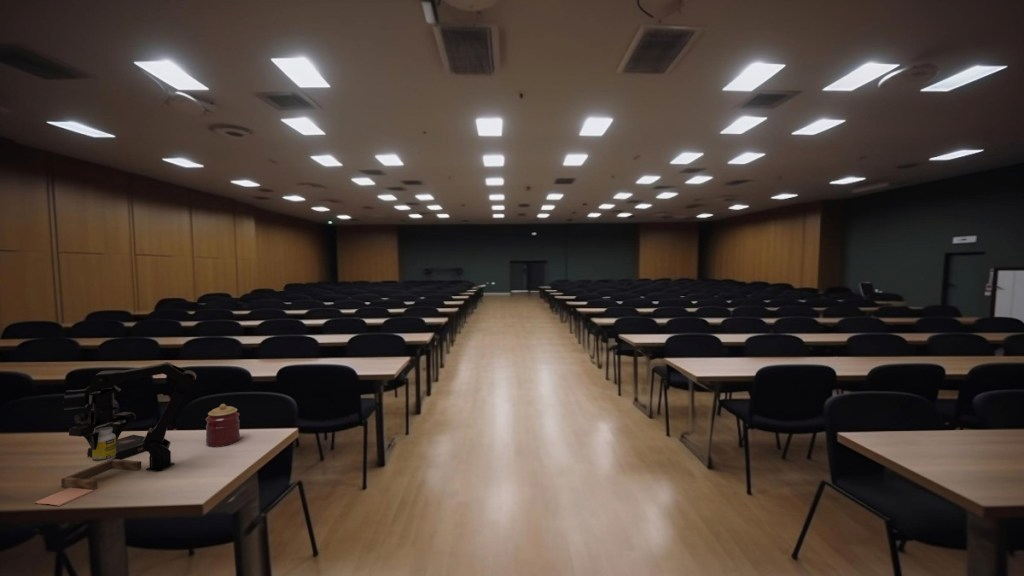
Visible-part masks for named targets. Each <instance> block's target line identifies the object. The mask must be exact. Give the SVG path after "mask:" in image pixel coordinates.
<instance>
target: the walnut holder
mask: <svg viewBox="0 0 1024 576" xmlns="http://www.w3.org/2000/svg"><path fill="white" fill-rule="evenodd" d="M111 469H114V470H115V469H117V470H127V471H140V470H142V461H141V460H129V459H122V460H120V459H111V460H108V461H104V462H100V463H98V464H96V465H94V466H90V467H88V468H86V469H83V470H81V471H78V472H75V473H73V474H70V475H67V476H66V477H63V478H61V488H65V487H66V488H65V489H68V488H79V489H88V490H93V491H95V490H97V489H98V480H97V479H89V478H92V477H93V476H96V475H98V474H99V475H100V474H102V473H103V472H106V471H108V470H111ZM91 476H92V477H91ZM88 477H89V478H88ZM86 478H87V479H86Z"/></svg>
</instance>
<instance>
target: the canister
mask: <svg viewBox="0 0 1024 576" xmlns="http://www.w3.org/2000/svg"><path fill="white" fill-rule="evenodd" d="M237 411H238V408H236V407H234V406H231V405H229V406H228V405H227V404H225V403H221V404H220V405H219V407H216V408H213V409H212V410H211V411H210V410H209V412H207V415H208V416H207V417H206V418H205V421H206V425H205V428H206V430H205V437H206V438H205V443H206V446H207V445H208V446H207V447H210V446H219V447H223V446H222V445H225V446H228V445H227V444H229V445H231V444H230V443H232V444H234V443H233V442H235V443H236V441H237V440H238V439H239V440H240V436H241V433H240V422H241V420H240V419H239V416H240V413H239V412H237ZM239 440H238V441H239ZM238 441H237V442H238Z"/></svg>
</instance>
